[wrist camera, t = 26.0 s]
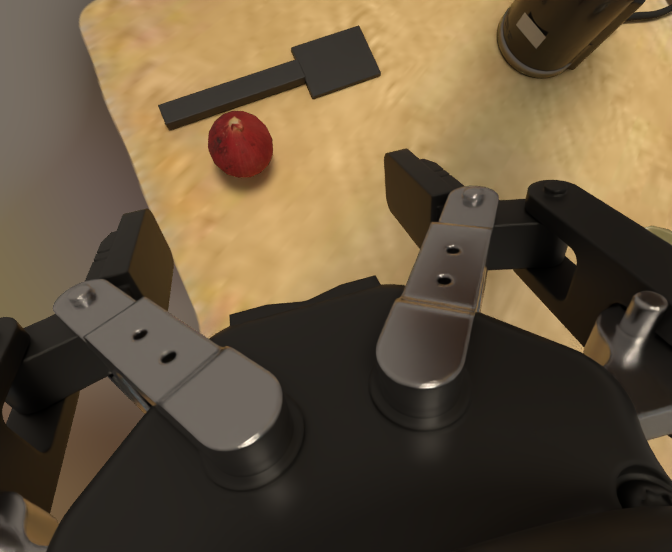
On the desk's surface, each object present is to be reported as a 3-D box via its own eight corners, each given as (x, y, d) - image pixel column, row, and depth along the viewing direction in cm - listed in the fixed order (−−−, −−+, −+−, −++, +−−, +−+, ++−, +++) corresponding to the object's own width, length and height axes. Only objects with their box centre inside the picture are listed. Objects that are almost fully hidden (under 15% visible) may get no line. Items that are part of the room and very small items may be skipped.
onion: (231, 197, 39) (213, 165, 31) (208, 148, 39) (185, 103, 32) (284, 176, 40) (279, 138, 32) (261, 127, 40) (251, 78, 32)
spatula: (358, 28, 43) (360, 20, 42) (380, 75, 42) (382, 68, 41) (155, 95, 40) (150, 88, 39) (176, 146, 39) (172, 141, 38)
